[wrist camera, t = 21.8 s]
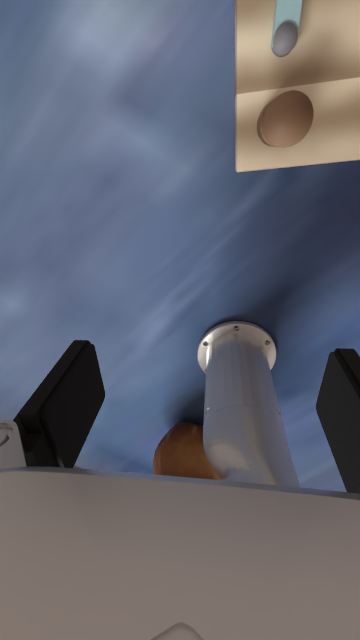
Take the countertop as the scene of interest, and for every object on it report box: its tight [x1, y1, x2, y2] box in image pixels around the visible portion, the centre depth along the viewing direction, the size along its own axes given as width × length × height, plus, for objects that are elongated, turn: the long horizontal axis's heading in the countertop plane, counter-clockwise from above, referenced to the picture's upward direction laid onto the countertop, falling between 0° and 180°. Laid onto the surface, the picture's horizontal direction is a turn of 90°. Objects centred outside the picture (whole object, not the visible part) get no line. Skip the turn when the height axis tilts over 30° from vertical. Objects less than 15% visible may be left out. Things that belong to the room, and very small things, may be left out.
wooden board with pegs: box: [235, 0, 360, 172], centre depth 24 cm, size 20×20×8 cm
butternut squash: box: [153, 421, 221, 480], centre depth 49 cm, size 14×13×25 cm
